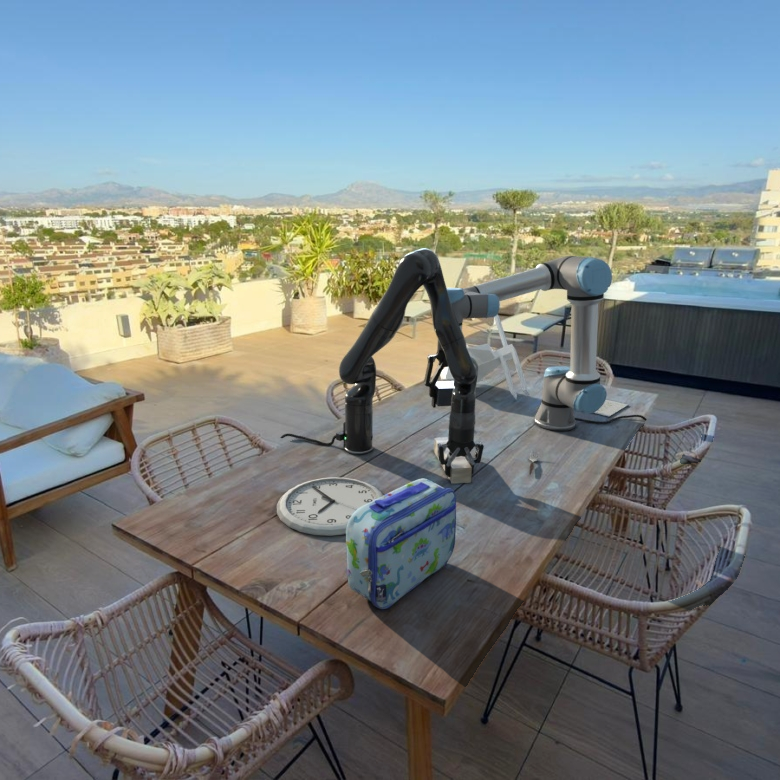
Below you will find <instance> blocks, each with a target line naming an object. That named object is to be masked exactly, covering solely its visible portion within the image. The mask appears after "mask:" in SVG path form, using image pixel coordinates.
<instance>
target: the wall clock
mask: <svg viewBox="0 0 780 780" xmlns="http://www.w3.org/2000/svg"><path fill="white" fill-rule="evenodd" d="M384 495H385V494H384V493H383V492H382V491H381V490H380V489H379V488H377V487H376V486H374V485H372V484H371V483H369V482H365V481H362V480H359V479H355V478H349V477H338V476H337V477H335V476H333V477H332V476H331V477H322V478H317V479H312V480H307V481H305V482H302V483H299V484H297V485H295V486H293V487H292V488H290V489H288V490H287V491H286V492H285V493H284V494H283V495H281V496H280V498H279V499H278V502H277V503H276V515H277V517H278V518H279V520H280V521H281V522H282V523H283V524H285V525H286V526H287V527H288V528H290V529H293V530H295V531H297V532H299V533H303V534H308V535H312V536H327V537H328V536H329V537H331V536H332V537H333V536H342V535H346V528H347V524H348V521H349V519H350V517H351V515H352V514H353V513H354V512H355V511H356V510H357V509H358V508H360V507H362V506H364V505H366V504H368V503H370V502H372V501H374V500H376V499H378V498H380V497H382V496H384Z"/></svg>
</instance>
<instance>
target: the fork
mask: <svg viewBox="0 0 780 780" xmlns="http://www.w3.org/2000/svg"><path fill="white" fill-rule="evenodd" d="M538 460H539V453H537V452H535V451H533V450H531V452H530V456H529V461H531V463H530V465H529V475H531V474H532V472H533V470H534V462H538Z"/></svg>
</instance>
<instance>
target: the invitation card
mask: <svg viewBox="0 0 780 780" xmlns="http://www.w3.org/2000/svg"><path fill="white" fill-rule="evenodd" d="M628 406H629V404H627V403H623V402H618V401H614V400H609V399H606V400H605V402H604V404H603V405H602V406H601V407H600V409H599V410H597V411H596V412H594V413H593V414H596V415H600V416H604V417H608V418H609V417H611V416H613V415H614V414H616V413H617V412H619V411H621V410H623V409H624V408H626V407H628Z"/></svg>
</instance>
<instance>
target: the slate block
mask: <svg viewBox="0 0 780 780" xmlns="http://www.w3.org/2000/svg"><path fill="white" fill-rule="evenodd" d="M435 387H436V407H451V397H452V392H453V389H454V381H442V380H439V381H438V380H437V382H436V384H435Z"/></svg>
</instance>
